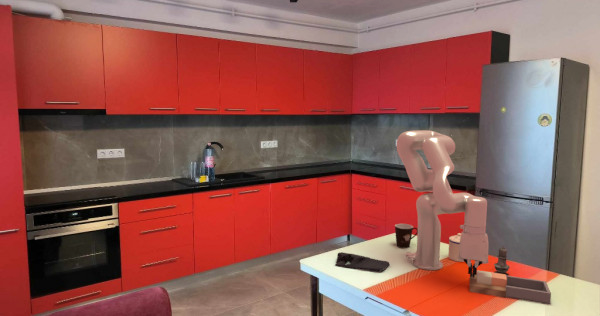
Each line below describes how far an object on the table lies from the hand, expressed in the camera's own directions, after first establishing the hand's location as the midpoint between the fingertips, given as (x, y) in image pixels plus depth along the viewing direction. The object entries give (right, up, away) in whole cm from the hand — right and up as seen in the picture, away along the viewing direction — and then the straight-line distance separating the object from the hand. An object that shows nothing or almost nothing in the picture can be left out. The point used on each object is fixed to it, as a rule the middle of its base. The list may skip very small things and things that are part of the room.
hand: (472, 275), depth 157 cm
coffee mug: (-14, +2, +45) cm, 47 cm away
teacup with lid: (+6, 0, +30) cm, 31 cm away
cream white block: (+4, -2, -1) cm, 4 cm away
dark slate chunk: (-39, -2, +21) cm, 44 cm away
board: (+5, -4, -1) cm, 7 cm away
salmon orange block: (+9, -2, -3) cm, 9 cm away
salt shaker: (+17, -3, +12) cm, 21 cm away
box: (+17, -5, -6) cm, 19 cm away
